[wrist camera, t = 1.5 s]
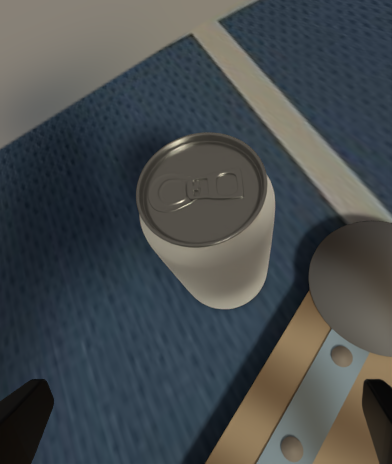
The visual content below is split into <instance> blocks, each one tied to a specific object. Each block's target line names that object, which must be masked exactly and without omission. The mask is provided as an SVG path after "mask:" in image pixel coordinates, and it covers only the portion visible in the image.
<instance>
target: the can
mask: <svg viewBox="0 0 392 464" xmlns="http://www.w3.org/2000/svg"><path fill="white" fill-rule="evenodd" d="M136 202H137V207H138V211H139V216H140V223H141V227H142V230H143V233H144V235H145V237H146V239H147V241H148V243H149V244H150V246H151V247H152V248H153V250H154V251H155V252H156V253H157V255H158V256H159V257H160V258H161V259H162V261H163V262H164V263H165V264H166V265H167V267H168V268H169V269H170V270H171V271H172V272H173V274H174V275H175V276H176V277H177V278H178V279H179V281H180V282H181V283H182V284H183V285H184V286H185V288H186V289H187V290H188V291H189V292H190V293H191V294H192V295H193V296H194V297H195V298H196V299H197V300H198V301H200V302H201V303H203V304H205V305H207V306H209V307H212V308H217V309H232V308H236V307H239V306H242V305H244V304H246V303H247V302H249V301H250V300H252V299H253V298H254V297H255V296H256V295H257V294H258V293H259V291H260V290H261V288H262V286H263V284H264V282H265V279H266V275H267V270H268V263H269V256H270V249H271V241H272V233H273V225H274V216H275V197H274V191H273V187H272V184H271V182H270V180H269V178H268V176H267V174H266V171H265V168H264V165H263V163H262V161H261V159H260V158H259V156H258V155H257V154H256V153H255V151H254V150H253V149H252V148H251V147H249V146H248V145H247V144H245V143H244V142H242V141H240V140H239V139H237V138H234V137H232V136H229V135H225V134H220V133H197V134H191V135H187V136H184V137H181V138H179V139H176V140H174V141H172V142H170V143H169V144H167V145H166V146H164V147H163V148H161V149H160V150H159V151H158V152H157V153H155V154H154V155H153V156H152V158H151V159H150V160H149V161H148V162H147V164H146V165H145V167H144V169H143V170H142V172H141V175H140V177H139V180H138V184H137V189H136Z"/></svg>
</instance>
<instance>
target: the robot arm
mask: <svg viewBox="0 0 392 464" xmlns="http://www.w3.org/2000/svg"><path fill="white" fill-rule="evenodd" d="M53 405H54V398H53V395H52V393H51V390H50V388H49V385H48V383H47V381H46V380H45V379H32V380H30V381H28V382H27V383H25V384H24V385H23V386H21V387H20V388H18V389H17V390H16V391H14V392H13V393H11V394H10V395H9V396H7V397H6V398H4V399H3V400H1V401H0V464H31V463H32V460H33V458H34V455H35V453H36V450H37V448H38V445H39V442H40V440H41V437H42V435H43V432H44V429H45V427H46V424H47V422H48V419H49V416H50V414H51V411H52V409H53ZM362 409H363V413H364V416H365V419H366V422H367V426H368V429H369V432H370V435H371V438H372V442H373V445H374V448H375V451H376V454H377V458H378V461H379V464H392V387H391V386H390V385H388V384H387V383H386V382H385V381H383V380H381V379H365V380H364V383H363V393H362Z"/></svg>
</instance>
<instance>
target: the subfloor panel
mask: <svg viewBox="0 0 392 464" xmlns="http://www.w3.org/2000/svg"><path fill="white" fill-rule="evenodd" d="M309 288H310V289H309V291H308V293H307V294H306V296H305V298H304V299H303V301H302V303H301V304H300V306H299V308H298V309H297V311H296V313H295V314H294V316H293V318H292V319H291V321H290V323H289V324H288V326H287V328H286V329H285V331H284V333H283V334H282V336H281V338H280V339H279V341H278V343H277V344H276V346H275V348H274V349H273V351H272V353H271V354H270V356H269V358H268V359H267V361H266V363H265V364H264V366H263V368H262V369H261V371H260V373H259V374H258V376H257V378H256V379H255V381H254V383H253V384H252V386H251V388H250V389H249V391H248V393H247V394H246V396H245V398H244V399H243V401H242V403H241V404H240V406H239V408H238V409H237V411H236V413H235V414H234V416H233V418H232V419H231V421H230V423H229V424H228V426H227V427H226V429H225V431H224V432H223V434H222V436H221V437H220V439H219V441H218V442H217V444H216V446H215V447H214V449H213V451H212V452H211V454H210V456H209V457H208V459H207V461H206V462H205V464H379V461H378V458H377V454H376V451H375V448H374V445H373V442H372V438H371V435H370V432H369V429H368V426H367V422H366V419H365V416H364V413H363V409H362V393H363V383H364V380H365V379H381V380H383V381H385V382H386V383H387V384H388V385H390V386H391V387H392V223H387V222H380V221H363V222H356V223H352V224H348V225H346V226H343V227H341V228H339V229H337V230H335V231H334V232H332V233H331V234H330V235H328V236H327V237H326V238H325V239H324V240H323V241H322V242H321V243H320V245H319V246H318V247H317V249H316V251H315V253H314V255H313V257H312V260H311V263H310V268H309Z"/></svg>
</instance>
